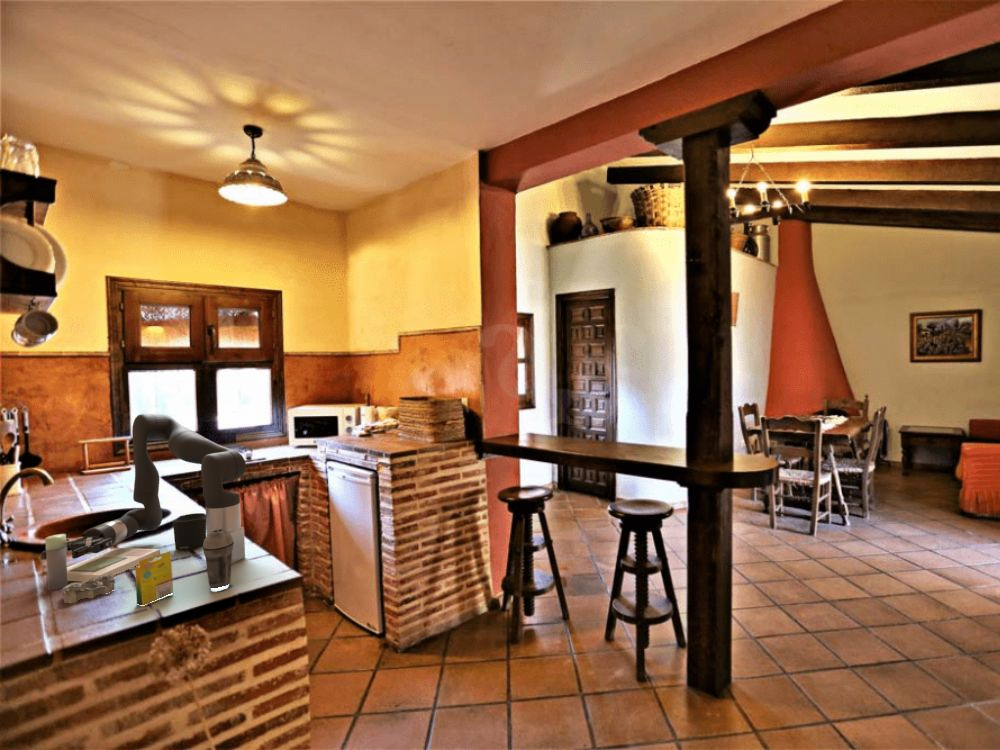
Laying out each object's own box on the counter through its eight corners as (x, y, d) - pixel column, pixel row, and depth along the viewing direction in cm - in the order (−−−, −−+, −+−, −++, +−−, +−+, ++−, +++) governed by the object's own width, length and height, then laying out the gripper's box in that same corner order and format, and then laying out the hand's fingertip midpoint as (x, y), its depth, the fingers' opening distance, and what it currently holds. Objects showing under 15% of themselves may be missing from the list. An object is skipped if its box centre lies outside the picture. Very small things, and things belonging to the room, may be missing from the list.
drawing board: (160, 555, 158) (160, 548, 158) (99, 582, 139) (99, 574, 139) (117, 553, 161) (117, 547, 161) (52, 580, 142) (51, 572, 142)
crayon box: (168, 593, 130) (166, 549, 130) (174, 595, 129) (172, 550, 129) (135, 605, 124) (134, 558, 124) (141, 607, 122) (140, 560, 122)
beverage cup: (203, 597, 127) (200, 519, 127) (205, 586, 134) (202, 512, 133) (235, 590, 131) (232, 514, 130) (235, 580, 137) (232, 508, 137)
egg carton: (62, 607, 125) (62, 591, 125) (62, 597, 130) (61, 582, 130) (116, 593, 132) (115, 578, 132) (113, 584, 137) (113, 570, 137)
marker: (72, 584, 138) (69, 534, 138) (56, 591, 134) (53, 539, 134) (59, 583, 139) (57, 533, 139) (43, 590, 135) (41, 538, 135)
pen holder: (168, 549, 164) (167, 519, 164) (198, 540, 172) (197, 511, 172) (183, 554, 159) (181, 523, 159) (213, 544, 167) (211, 515, 167)
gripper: (81, 524, 153) (31, 542, 137) (127, 523, 153) (83, 541, 137) (82, 548, 153) (32, 569, 137) (128, 547, 153) (84, 568, 137)
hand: (58, 555), depth 137 cm, fingers open, 8 cm apart
